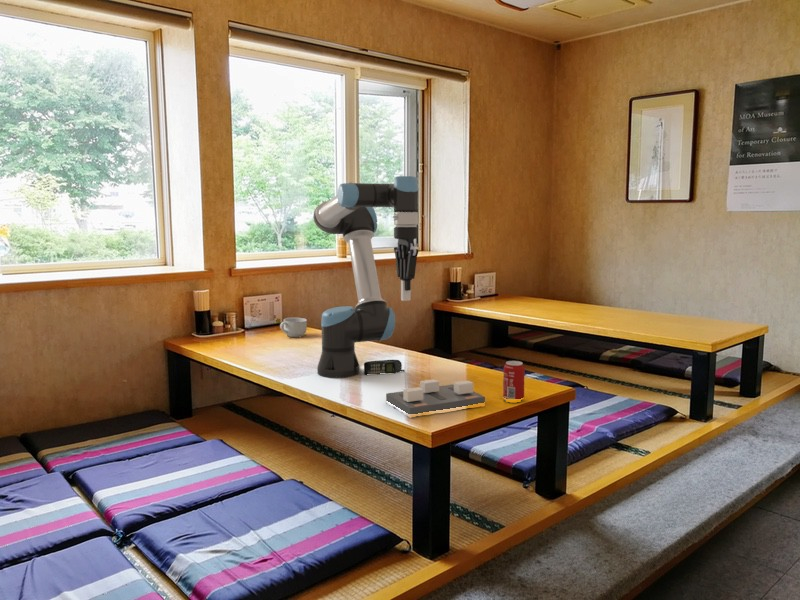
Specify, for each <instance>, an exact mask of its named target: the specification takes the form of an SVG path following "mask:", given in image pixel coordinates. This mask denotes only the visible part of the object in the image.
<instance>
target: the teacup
mask: <svg viewBox="0 0 800 600" xmlns="http://www.w3.org/2000/svg"><path fill="white" fill-rule="evenodd" d="M307 322H308V319H306V318H304V317H303V318H302V317H285V318H284V319H283V321H282V322H281V323H279V328H280V331H282V332H284V334H285V335H286V336H287V337H290V338H300V337H299V336H301V337H303V336H304V335H305V334H306V332H307V329H308V328H307V325H308V323H307ZM302 335H303V336H302Z"/></svg>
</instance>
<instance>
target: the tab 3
mask: <svg viewBox="0 0 800 600" xmlns="http://www.w3.org/2000/svg"><path fill="white" fill-rule="evenodd" d="M453 384H454V392H455V393H457V394H466V393H473V391H474V382H472V381H470V380H461V381H454V382H453Z"/></svg>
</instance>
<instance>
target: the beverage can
mask: <svg viewBox="0 0 800 600" xmlns="http://www.w3.org/2000/svg"><path fill="white" fill-rule="evenodd" d="M523 363H524V362H522V361H519V360H508V361H506V362H505V364H504V366H503V377H502V378H503V379H502V380H503V383H502V384H503V386H502V397H504V398H506V399H521V398H523V397H524V398H525V377H526V376H525V374H526V373H525V370H526V367H525V366H524V365H523ZM504 398H503V399H504Z"/></svg>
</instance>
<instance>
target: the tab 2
mask: <svg viewBox="0 0 800 600" xmlns="http://www.w3.org/2000/svg"><path fill="white" fill-rule="evenodd" d="M439 386H440V381H439V380H437V379H433V378H432V379H426V380H420V382H419V388H421V389H423V393H430V392H437V391H439Z"/></svg>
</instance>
